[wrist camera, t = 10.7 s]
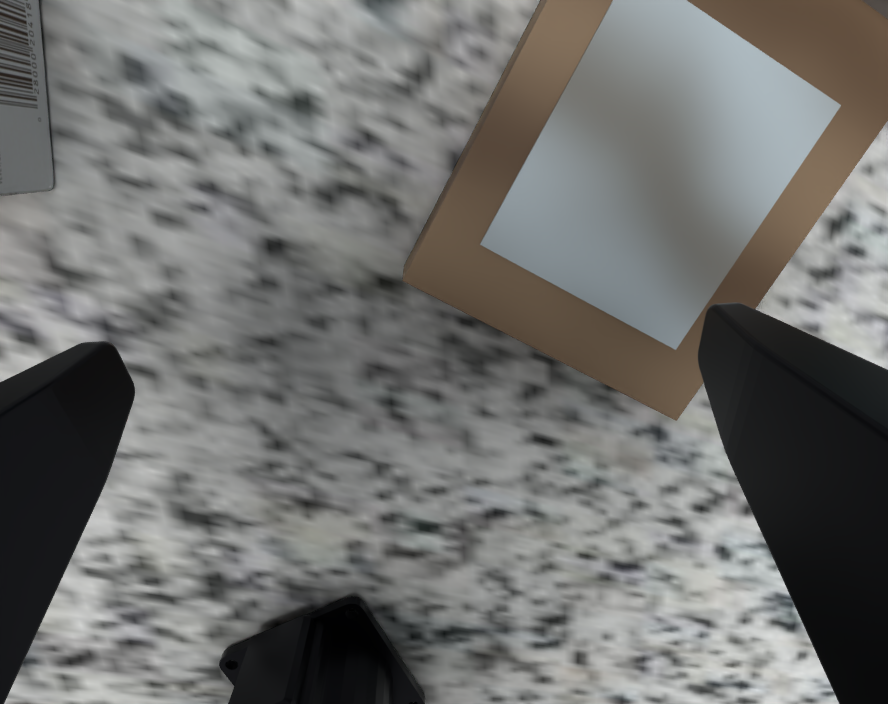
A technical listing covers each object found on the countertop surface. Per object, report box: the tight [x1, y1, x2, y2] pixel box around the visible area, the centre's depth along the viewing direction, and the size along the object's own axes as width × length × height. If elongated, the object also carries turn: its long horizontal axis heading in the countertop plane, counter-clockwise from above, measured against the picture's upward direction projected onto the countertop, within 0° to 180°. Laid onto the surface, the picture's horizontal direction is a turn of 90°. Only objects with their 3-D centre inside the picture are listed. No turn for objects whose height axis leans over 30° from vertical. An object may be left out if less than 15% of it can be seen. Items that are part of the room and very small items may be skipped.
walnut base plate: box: [402, 0, 888, 421], centre depth 16 cm, size 21×10×4 cm, turn 152°
